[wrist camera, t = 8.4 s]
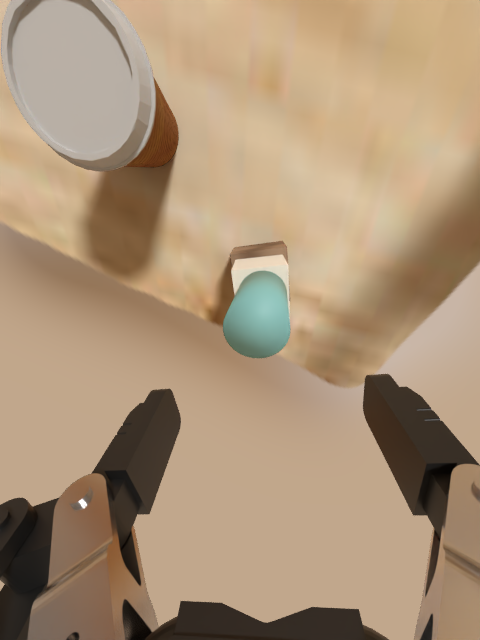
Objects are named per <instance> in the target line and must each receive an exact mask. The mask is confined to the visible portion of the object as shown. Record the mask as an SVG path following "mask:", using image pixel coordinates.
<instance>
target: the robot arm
mask: <svg viewBox="0 0 480 640" xmlns="http://www.w3.org/2000/svg"><path fill="white" fill-rule="evenodd" d="M363 411H364V415H365V418H366V421H367V423H368V425H369V427H370V429H371V431H372V433H373V435H374V437H375V439H376V441H377V443H378V445H379V447H380V449H381V451H382V453H383V455H384V457H385V459H386V461H387V463H388V465H389V467H390V469H391V471H392V473H393V475H394V477H395V480H396V481H397V483H398V486H399V487H400V490H401V491H402V494H403V496H404V497H405V500H406V502H407V503H408V506H409V508H410V510H411V512H412V514H413V515H427V516H428V518H429V520H430V521H431V523H432V525H433V527H434V528H433V532H432V538H431V544H430V551H429V557H428V564H427V571H426V577H425V584H424V590H423V597H422V603H421V607H420V612H419V616H418V620H417V625H416V630H415V636H414V640H480V465H479V464H478V463H477V462H476V460H475V459H474V458H473V457H472V456H471V454H470V453H469V452H468V451H467V450H466V449H465V447H464V446H463V445H462V444H461V443H460V442H459V440H458V439H457V438H456V437H455V436H454V434H453V433H452V432H451V431H450V430H449V429H448V427H447V426H446V425H445V424H444V423H443V422H442V421H440V418H439V417H438V416H437V414H436V413H435V412H434V411H432V410H431V407H429V405H428V404H427V403H426V402H425V400H424V399H423V398H422V397H421V396H420V395H418V394H417V393H415V392H414V391H412V390H411V389H409V388H408V387H399V386H398V385H397V384H396V382H395V381H394V380H393V378H392V377H391V376H390V375H389V374H381V375H380V374H379V375H367V376H366V378H365V386H364V401H363ZM180 423H181V418H180V413H179V410H178V407H177V404H176V402H175V398H174V396H173V393H172V391H171V389H160V390H152V391H151V392H150V394H149V395H148V397H147V398H146V400H145V402H144V403H140V404H139V405H138V406H137V407H135V408H134V409H133V410H132V411H131V412H130V414H129V415H128V416H127V418H126V420H125V421H124V423H123V426H121V428H120V429H119V431H118V432H117V435H116V436H115V437H114V439H113V440H112V442H111V443H110V445H109V447H108V448H107V450H106V451H105V453H104V455H103V456H102V458H101V459H100V461H99V463H98V464H97V466H96V467H95V469H94V471H93V472H92V473H91V474H88V475H86V476H84V477H82V478H80V479H78V480H77V481H75V482H74V483H72V484H71V485H70V486H69V487H68V488H67V489H66V490H65V491H64V492H63V494H62V495H61V496H60V497H59V498H57V499H54V500H51V501H48V502H46V503H42V504H39V505H36V506H34V507H32V506H31V505H30V503H29V502H28V501H27V500H26V499H24V498H15V499H12V500H9V501H7V502H5V503H3V504H1V505H0V580H1V581H2V582H3V583H4V584H5V585H4V586H3V588H2V590H1V591H0V640H388V639H387V638H386V637H384V636H383V635H381V634H379V633H378V632H376V631H375V630H373V629H371V628H369V627H367V626H364V625H362V621H361V617H360V613H359V609H340V608H319V607H311V608H308V609H306V610H303V611H300V612H298V613H294V614H292V615H289V616H286V617H283V618H281V619H278V620H276V621H272V622H269V623H264V622H261V621H259V620H257V619H255V618H252V617H250V616H248V615H246V614H244V613H242V612H240V611H238V610H235V609H233V608H231V607H229V606H227V605H225V604H223V603H212V602H190V601H181V603H180V608H179V613H178V617H175V618H173V619H171V620H170V621H168V622H166V623H164V624H163V625H161V626H160V627H159V626H158V622H157V618H156V615H155V611H154V609H153V605H152V603H151V600H150V598H149V595H148V592H147V588H146V583H145V578H144V573H143V568H142V564H141V558H140V553H139V548H138V543H137V538H136V533H135V529H134V526H133V524H134V521H135V519H136V516H137V514H150V511H151V508H152V505H153V503H154V500H155V497H156V494H157V491H158V488H159V486H160V483H161V480H162V477H163V475H164V472H165V469H166V466H167V463H168V460H169V458H170V455H171V452H172V449H173V446H174V444H175V441H176V438H177V435H178V432H179V429H180Z"/></svg>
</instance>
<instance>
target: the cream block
mask: <svg viewBox="0 0 480 640" xmlns="http://www.w3.org/2000/svg"><path fill="white" fill-rule="evenodd" d="M256 271H270V272H272V273H275V274H276V275H278V276H279V277H280V278H281V279H282V280H283V282H284V283H285V286H286V289H287V297H288V309H289V317H290V302H289V275H288V264H287V262H286V260H285V258H284V256H283V255H273V256H264V257H255V258H246V259H237V260H235V262H234V265H233V267H232V270H231V273H232V281H233V288H234V295H236V293H237V291H238V289H239V286H240V284H241V283H242V281H243V280H244V278H245V277H246V276H248V275H249V274H251V273H253V272H256Z"/></svg>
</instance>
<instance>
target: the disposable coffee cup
mask: <svg viewBox="0 0 480 640" xmlns="http://www.w3.org/2000/svg"><path fill="white" fill-rule="evenodd" d="M1 56H2V63H3V69H4V73H5V76H6V80H7V84H8V87H9V89H10V91H11V94H12V96H13V98H14V101H15V103H16V105H17V107H18V109H19V110H20V112H21V114H22V115H23V117H24V119H25V120H26V121H27V123H28V124H29V125H30V127H31V128H32V129H33V130H34V131H35V132H36V133H37V135H38V136H39V137H40V138H41V139H42V140H43V141H45V142H46V143H47V144H48V145H49V146H50V147H51V148H52V149H53V150H54V151H55V152H56V153H57V154H59V155H60V156H61V157H63V158H64V159H66V160H68V161H69V162H71V163H72V164H74V165H76V166H79V167H82V168H84V169H87V170H93V171H111V170H116V169H119V168H121V167H123V166H126V167H159V166H163V165H164V164H166V163H167V162H168V161H169V160H170V159H171V158H172V157H173V155H174V153H175V151H176V148H177V145H178V127H177V123H176V120H175V117H174V115H173V113H172V111H171V110H170V108H169V106H168V104H167V102H166V100H165V98H164V96H163V94H162V92H161V90H160V88H159V86H158V84H157V82H156V81H155V79H154V77H153V71H152V68H151V65H150V62H149V59H148V56H147V53H146V51H145V48H144V45H143V43H142V42H141V40H140V38H139V36H138V34H137V32H136V30H135V28H134V27H133V26H132V24H131V23H130V21H129V20H128V19H127V17H126V16H125V14H124V13H123V12H122V11H121V10H120V9H119V8H118V7H117V6H116V5H115V4H114V3H113V2H112V1H111V0H11V1H10V3H9V5H8V7H7V10H6V13H5V16H4V19H3V23H2V40H1Z"/></svg>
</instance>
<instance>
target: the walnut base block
mask: <svg viewBox="0 0 480 640" xmlns="http://www.w3.org/2000/svg"><path fill="white" fill-rule="evenodd" d="M273 255H283V256H284V258H285V260H286V262H287V264H288V256H287V246H286V245H285V244H284V242H283V241H278V242H271V243H264V244H256V245H249V246H242V247H235V248H234V249H233V251H232V252H231V254H230V257H231V263H232V267H233V265H234V262H235V260H237V259H246V258H255V257H264V256H273ZM288 275H289V272H288ZM289 301H290V288H289Z"/></svg>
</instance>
